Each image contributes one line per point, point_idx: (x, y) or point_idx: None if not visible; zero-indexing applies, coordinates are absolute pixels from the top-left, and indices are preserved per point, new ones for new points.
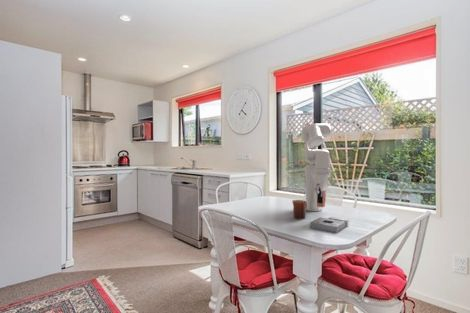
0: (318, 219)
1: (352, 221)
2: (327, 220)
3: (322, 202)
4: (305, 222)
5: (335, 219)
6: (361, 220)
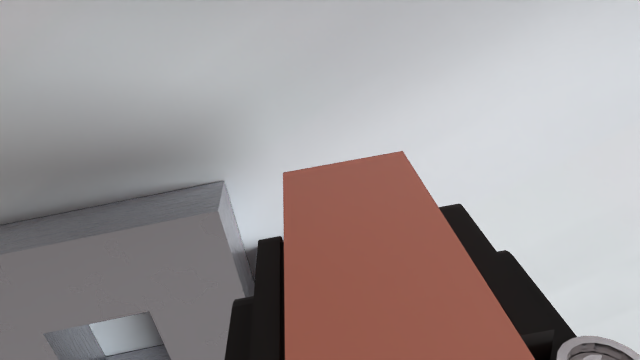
0: (99, 257)
1: None
2: (159, 329)
3: None
4: (60, 63)
5: None
6: None
